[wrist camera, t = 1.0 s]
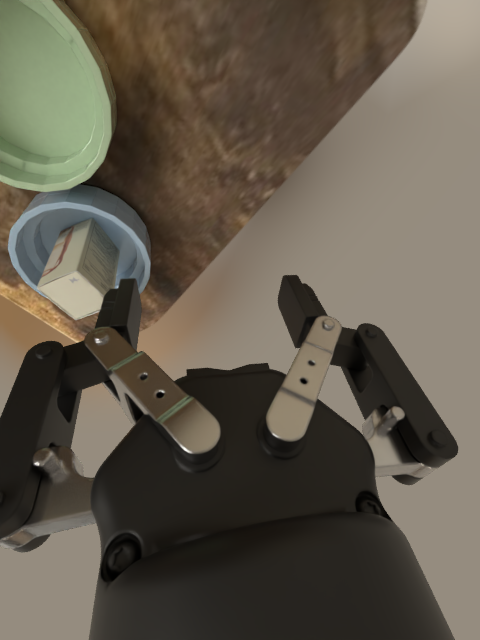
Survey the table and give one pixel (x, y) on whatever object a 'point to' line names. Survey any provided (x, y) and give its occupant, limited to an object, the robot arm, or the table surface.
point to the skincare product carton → (80, 269)
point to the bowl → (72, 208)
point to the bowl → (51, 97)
